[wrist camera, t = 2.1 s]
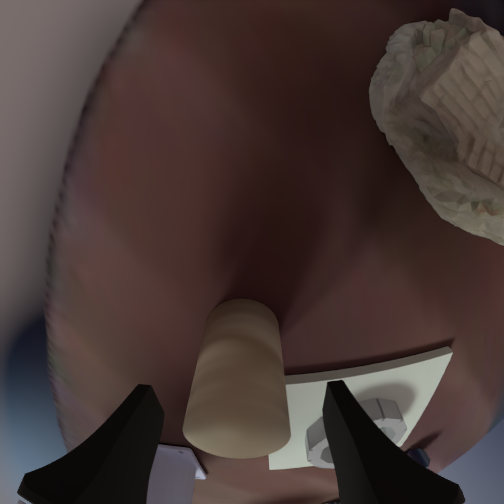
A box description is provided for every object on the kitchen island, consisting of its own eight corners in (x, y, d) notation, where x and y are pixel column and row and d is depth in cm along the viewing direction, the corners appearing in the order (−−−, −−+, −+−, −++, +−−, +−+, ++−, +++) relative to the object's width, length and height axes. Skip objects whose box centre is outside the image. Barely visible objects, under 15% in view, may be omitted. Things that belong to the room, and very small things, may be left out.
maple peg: (212, 356, 16) (195, 456, 9) (201, 300, 14) (169, 406, 8) (279, 353, 16) (289, 456, 9) (277, 296, 14) (293, 405, 8)
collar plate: (269, 463, 21) (270, 485, 19) (263, 377, 16) (265, 411, 14) (399, 440, 21) (406, 459, 18) (448, 346, 16) (465, 369, 13)
